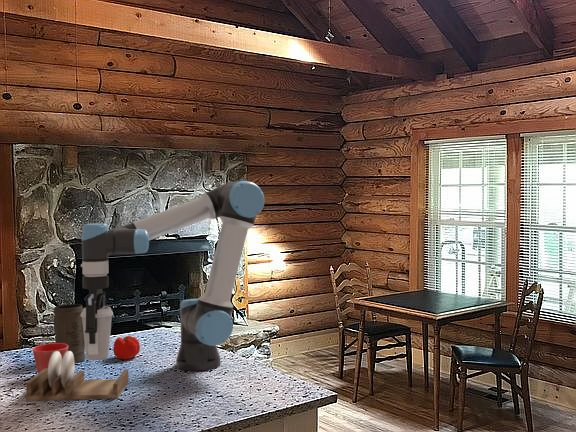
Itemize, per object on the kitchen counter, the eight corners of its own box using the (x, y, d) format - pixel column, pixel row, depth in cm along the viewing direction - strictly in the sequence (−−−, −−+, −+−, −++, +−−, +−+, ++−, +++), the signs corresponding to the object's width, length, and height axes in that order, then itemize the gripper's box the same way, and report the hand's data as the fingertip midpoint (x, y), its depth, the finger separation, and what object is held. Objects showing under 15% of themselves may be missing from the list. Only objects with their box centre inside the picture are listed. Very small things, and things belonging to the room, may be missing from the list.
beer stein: (93, 358, 226) (89, 303, 226) (68, 365, 217) (64, 308, 217) (65, 356, 234) (61, 302, 234) (40, 362, 225) (36, 307, 225)
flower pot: (57, 381, 199) (56, 351, 199) (26, 380, 201) (25, 350, 201) (75, 372, 209) (74, 343, 209) (45, 370, 212) (45, 342, 211)
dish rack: (128, 382, 197) (127, 344, 196) (117, 398, 182) (116, 356, 181) (44, 384, 196) (43, 346, 195) (26, 400, 181) (25, 358, 180)
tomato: (113, 362, 222) (112, 341, 221) (114, 355, 230) (113, 335, 230) (140, 360, 224) (139, 339, 224) (140, 354, 232) (139, 333, 232)
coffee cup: (94, 363, 182) (93, 311, 182) (74, 358, 188) (73, 308, 188) (120, 356, 190) (120, 307, 190) (100, 352, 196) (99, 304, 195)
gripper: (91, 271, 197) (92, 343, 198) (73, 279, 178) (74, 359, 179) (115, 270, 198) (116, 343, 198) (99, 279, 178) (100, 359, 179)
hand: (96, 351), depth 189 cm, fingers closed on coffee cup, 7 cm apart
